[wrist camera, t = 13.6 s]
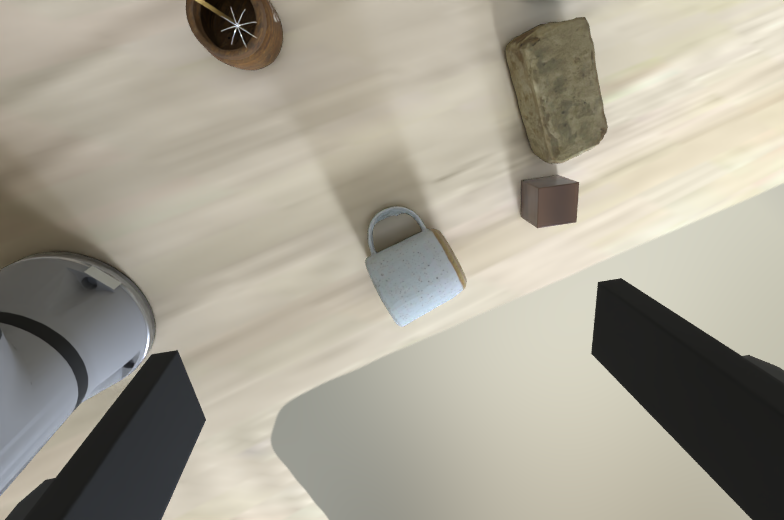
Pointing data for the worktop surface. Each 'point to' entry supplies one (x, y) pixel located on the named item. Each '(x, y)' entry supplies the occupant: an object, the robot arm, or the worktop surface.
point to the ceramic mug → (414, 271)
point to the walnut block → (549, 201)
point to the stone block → (558, 89)
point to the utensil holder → (237, 30)
